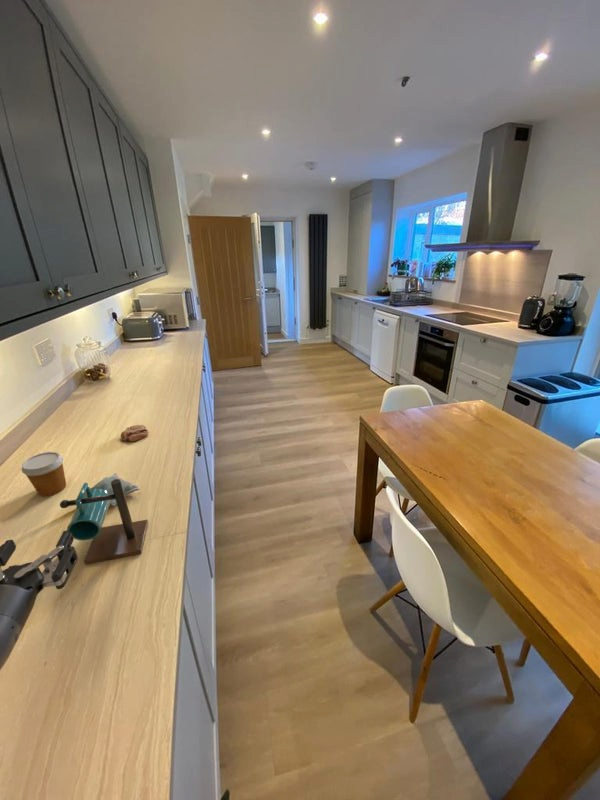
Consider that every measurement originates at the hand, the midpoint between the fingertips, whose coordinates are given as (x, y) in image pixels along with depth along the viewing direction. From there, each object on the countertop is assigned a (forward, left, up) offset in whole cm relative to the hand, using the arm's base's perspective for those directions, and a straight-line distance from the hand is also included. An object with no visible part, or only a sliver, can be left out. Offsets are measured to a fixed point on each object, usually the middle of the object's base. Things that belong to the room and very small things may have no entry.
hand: (40, 538), depth 57 cm
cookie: (+43, +57, -20) cm, 74 cm away
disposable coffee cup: (+11, +43, -20) cm, 48 cm away
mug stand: (+13, +10, -20) cm, 26 cm away
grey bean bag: (+22, +28, -20) cm, 40 cm away
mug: (+14, +18, -9) cm, 25 cm away
